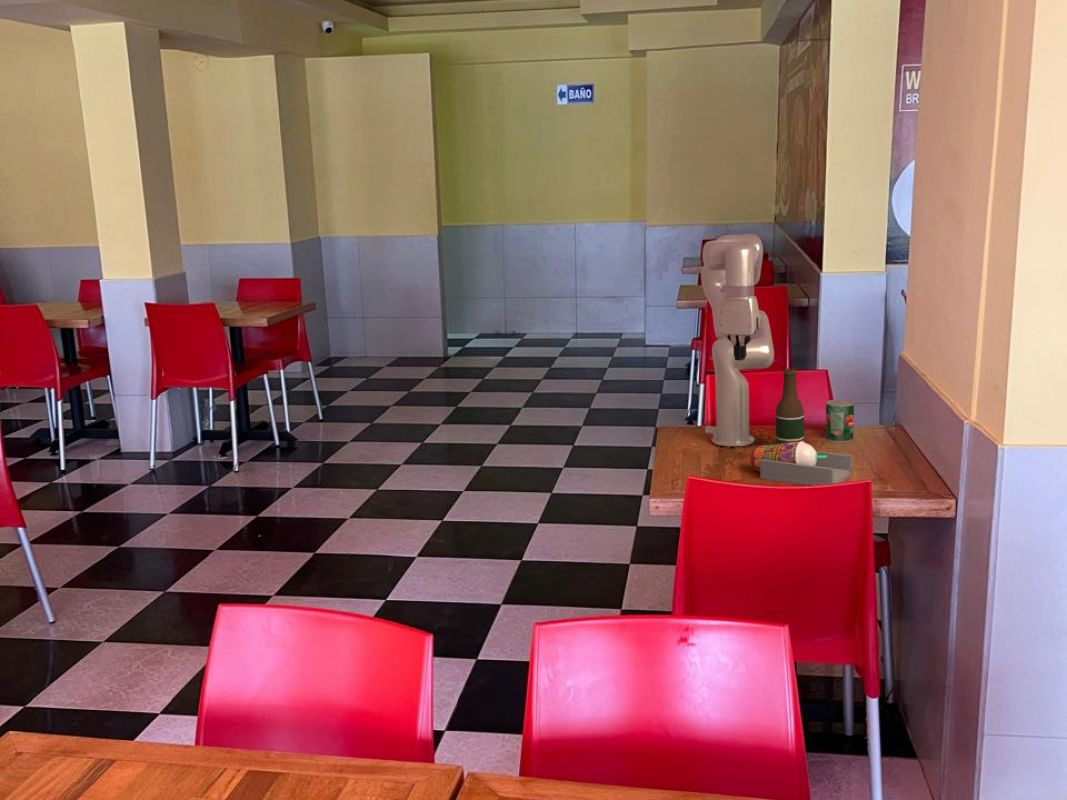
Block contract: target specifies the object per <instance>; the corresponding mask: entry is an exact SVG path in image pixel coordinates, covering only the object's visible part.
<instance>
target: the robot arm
mask: <svg viewBox="0 0 1067 800" xmlns="http://www.w3.org/2000/svg"><path fill="white" fill-rule="evenodd" d="M763 256H764V246H763V242H762V239H761V238H760V236H758V235H757V234H753V233H744V234H727V235H722V236H720V237H718V238H717V239H715V240H710V241H706V242H705V244H704V245H703V247H702V262H703V266H702V268H701V271H700V279H701V285H702V290H703V292H704V295H705V297H706V300H707V301H708V303H709V305H710V307H711V310H712V319H713V320H712V321H713V329H714V334H715V336H716V338H717V340H715V341H713V344H712V348H711V354H712V355H711V356H712V360H713V368H714V375H715V376H714V378H715V379H714V381H715V417H716V418H715V419H716V420H715V421H716V422H715V423H716V424H715V426H711V425H705V428H704V430H705V432H704V433H705V434H706V435H708V434H709V435H712V437H711V440H712V442H714V443H716V444H719V445H724V446H745V445H749V444H752V443H753V442H754V441H756V440H755V437H754V436H752V435H750V388H749V386H750V385H749V382H748V380H747V379H746V377H745V376H744V375H743V374H742V373H741V372H740V371H741V370H754V369H755V370H757V369H767V368H769V367H770V366H771V365H772V364H773V362H774V360H775V359H774V358H775V349H774V343H773V338H772V332H771V331H772V330H771V326H770V322H769V317H768V315H767V314H766V312H765V311H763V310H760V309H759V303H758V300H757V296H755V285H757V284H758V283H759V281H760V278H761V270H762V263H763V258H764V257H763ZM712 442H711V443H712ZM754 443H755V442H754ZM754 443H753V444H754ZM753 444H752V445H753ZM749 446H750V445H749ZM745 447H746V446H745Z"/></svg>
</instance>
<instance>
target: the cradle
mask: <svg viewBox="0 0 1067 800" xmlns="http://www.w3.org/2000/svg"><path fill="white" fill-rule="evenodd" d="M816 453H817V456H825V455H827V458H817V463H816V465H815V466H811V465H804V464H796V463H788V462H781V461H773V460H766V459H762V460H760V471H759V472H760V473H759V474H760V480H768V481H774V482H780V483H781V482H782V483H789V484H794V485H803V486H808V485H813V484H831V483H839V484H840V483H842V482H843V481H844V480H845V479H847V478H849V476H851V475H852V473H853V455H852V454H844V453H836V452H827V451H819V450H816Z"/></svg>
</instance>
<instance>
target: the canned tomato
mask: <svg viewBox="0 0 1067 800" xmlns="http://www.w3.org/2000/svg"><path fill="white" fill-rule="evenodd" d="M854 418H855V402H854V401H853V400H849V399H848V400H847V399H831V400H827V401H826V402H825V440H827V441H829V442H833V443H849V441H850V442H852V441H854V439H855V438H854V432H855V430H854V428H855V427H854V426H855V425H854V424H855V421H854Z"/></svg>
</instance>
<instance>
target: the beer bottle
mask: <svg viewBox="0 0 1067 800" xmlns="http://www.w3.org/2000/svg"><path fill="white" fill-rule="evenodd" d="M782 374H783V384H782V385H783V386H782V395H781V399H780V400H779V401H778V403H777V406H776V408H775V444H783V443H792V442H801V441H803V442H805V409H804V406H803V404H802V402H801V401H800V399H799V397H798V392H797V391H798V390H797V374H798V373H797V370H796V369H794V368H785V369H783V371H782Z"/></svg>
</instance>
